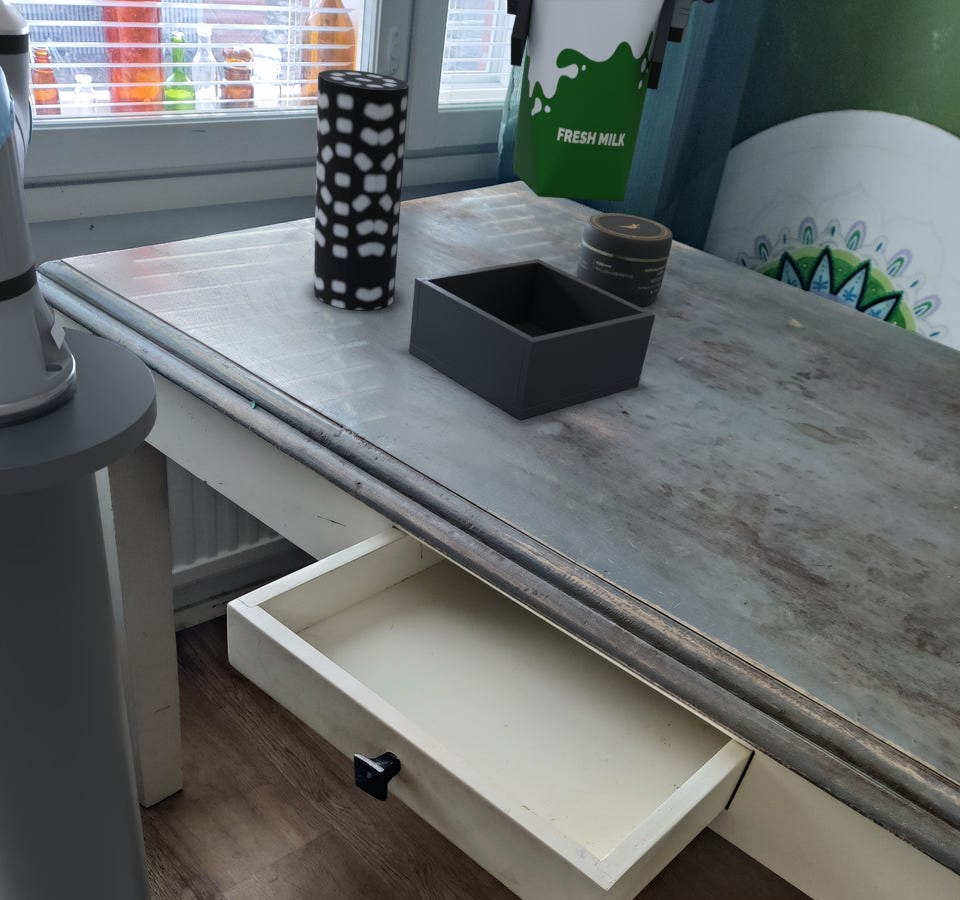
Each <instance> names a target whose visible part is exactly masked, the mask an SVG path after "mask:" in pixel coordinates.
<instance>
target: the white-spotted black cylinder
mask: <svg viewBox="0 0 960 900" xmlns="http://www.w3.org/2000/svg"><path fill="white" fill-rule="evenodd" d="M409 88H410V84H409V83H408V82H406V81H405V80H402V79H400V78H398V77H393V76H390V75H387V74H382V73H377V72H370V71H365V70H354V69H327V70H323V71H319V72H318V74H317V103H316V104H317V106H316V107H317V108H316V109H317V110H316V154H315V155H316V157H315V158H316V159H315V161H316V162H315V163H316V165H315V207H314V208H315V210H314V211H315V213H314V261H313V262H314V264H313V265H314V267H313V268H314V269H313V271H314V272H313V294H314V296H315V297H316V298H317V299H318V300H319V301H321V302H323V303H325V304H328V305H330V306H333V307H336V308H340V309H345V310H346V309H347V310H353V311H357V310H358V311H370V310H371V311H372V310H379V309H382V308H386V307H388V306H390V305H392V304H393V302H394V301H395V292H396V291H395V289H396V287H395V286H396V274H397V262H398V261H397V259H398V249H399V248H398V247H399V246H398V245H399V231H400V219H401V218H400V216H401V202H402V190H403V175H404V160H405V145H406V132H407V118H408V117H407V116H408V103H409V92H410V91H409V90H410V89H409Z"/></svg>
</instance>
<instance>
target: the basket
mask: <svg viewBox="0 0 960 900" xmlns="http://www.w3.org/2000/svg"><path fill="white" fill-rule="evenodd" d="M412 301H413V302H412V309H411V310H412V311H411V322H410V323H411V324H410V335H409V350H408V353H409V354H411V355H413V356H414V357H416V358H418V359H419V360H421V361H423V362H424V363H426V364H427V365H429V366H430V367H432V368H433V369H435V370H437V371H439V372H440V373H442V374H444V375H445V376H446V377H448V378H450V379H452V380H453V381H455V382H457V383H458V384H460V385H462V386H463V387H464V388H466V389H468V390H470V391H471V392H472V393H474V394H476V395H478V396H480V397H481V398H483V399H484V400H486V401H488V402H490V403H491V404H493V405H494V406H496V407H497V408H499V409H500V410H502V411H504V412H506V413H507V414H509V415H511V416H512V417H514V418H515V419H517V420H519V421H521V420H526V419H528V418H532V417H536V416H539V415H542V414H546V413H550V412H553V411H557V410H560V409H564V408H567V407H571V406H574V405H577V404H581V403H585V402H588V401H591V400H594V399H599V398H602V397H606V396H609V395H612V394H616V393H620V392H623V391H626V390H631V389H634V388H636V387H639V385H640V381H641V376H642V373H643V372H642V371H643V368H644V363H645V359H646V357H647V352H648V347H649V342H650V338H651V334H652V330H653V325H654V322H655V318H656V314H655V313H653V312H651V311H649V310H646V309H644V308H643V307H638V306H636V305H634V304H632V303H630V302H628V301H626V300H623V299H621V298H619V297H617V296H615V295H613V294H611V293H609V292H607V291H605V290H602V289H600V288H598V287H596V286H594V285H592V284H590V283H588V282H586V281H583V280H581V279H579V278H577V276H575V275H573V274H571V273H570V272H569V273H568V272H566V271H565V270H562V269H560V268H558V267H556V266H554V265H552V264H550V263H548V262H545V261H543V260H541V259H539V258H536V259H535V258H534V259H530V260H523V261H517V262H511V263H504V264H499V265H498V264H497V265H492V266H485V267H479V268H473V269H472V268H471V269H467V270H459V271H454V272H453V271H452V272H448V273H442V274H436V275H429V276H422V277H417V278H415V279H414V288H413V300H412Z"/></svg>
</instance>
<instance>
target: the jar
mask: <svg viewBox="0 0 960 900" xmlns="http://www.w3.org/2000/svg"><path fill="white" fill-rule="evenodd" d="M582 233H583V234H582V236H581V246H580V252H579V257H578V261H577V267H576V268H577V269H576V277H577V278H579V279H581V280H583V281H586V282H588V283H590V284H592V285H594V286H596V287H598V288H600V289H602V290H605V291H607V292H609V293H611V294H613V295H615V296H617V297H619V298H621V299H623V300H626V301H628V302H630V303H632V304H634V305H636V306H638V307H640V308H643V307H646V306H649V305H650V304H651V303H652V302H653V301H655V299H656V298H657V296H658V294H659V292H660V290H661V288H662V284H663V281H664V277H665V272H666V269H667V263H668V259H669V258H670V256H671V252H672V251H671V249H672V244H673V237H674V235H673V232H672V231H671V229H670V228H668V227H667V226H665V225H664V224H662V223H660V222H658V221H655V220H653V219H649V218H646V217H641V216H638V215H632V214H626V213H617V212H603V213H596V214H592V215H590V216H589V217H588V218H587V219H586V221H585V224H584V228H583V232H582Z"/></svg>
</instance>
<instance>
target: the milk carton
mask: <svg viewBox="0 0 960 900" xmlns="http://www.w3.org/2000/svg"><path fill="white" fill-rule="evenodd" d="M663 5H664V0H532V6H531V14H530V22H529V30H528V37H527V41H526V46H525V53H524V54H525V55H524V62H523V71H522V77H521V78H522V79H521V87H520V95H519V103H518V112H517V122H516V125H517V126H516V133H515V134H516V135H515V145H514V156H513V167H512V171H513V173H514V174H515V175H516V176H517V177H518V178H519V179H520V180H521V181H522V182H523V183H524V184H525V185H526V186H527V187H528V188H529V189H530V190H531V191H532V192H533V193H534V194H535V195H536V196H537V197H538V198H554V199H555V198H556V199H569V200H570V199H572V200H586V201H587V200H590V201H604V202H605V201H607V202H622V203H623V202H624V201H625V196H626V193H627V192H626V191H627V186H628V183H629V178H630V172H631V168H632V163H633V159H634V155H635V151H636V146H637V140H638V136H639V132H640V131H639V130H640V126H641V120H642V115H643V110H644V106H645V100H646V96H647V92H648V91H647V90H648V88H647V84H648V79H649V74H650V69H651V64H652V59H653V54H654V49H655V44H656V39H657V35H658V30H659V25H660V20H661V15H662V10H663Z"/></svg>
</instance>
